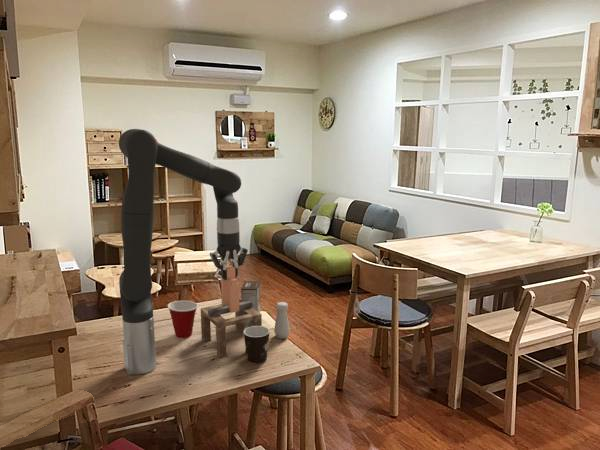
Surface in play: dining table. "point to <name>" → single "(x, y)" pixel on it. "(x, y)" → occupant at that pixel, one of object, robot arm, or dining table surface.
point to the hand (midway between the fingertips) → (229, 278)
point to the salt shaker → (281, 321)
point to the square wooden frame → (227, 322)
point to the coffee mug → (256, 343)
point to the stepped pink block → (230, 290)
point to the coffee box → (251, 296)
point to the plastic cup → (183, 317)
